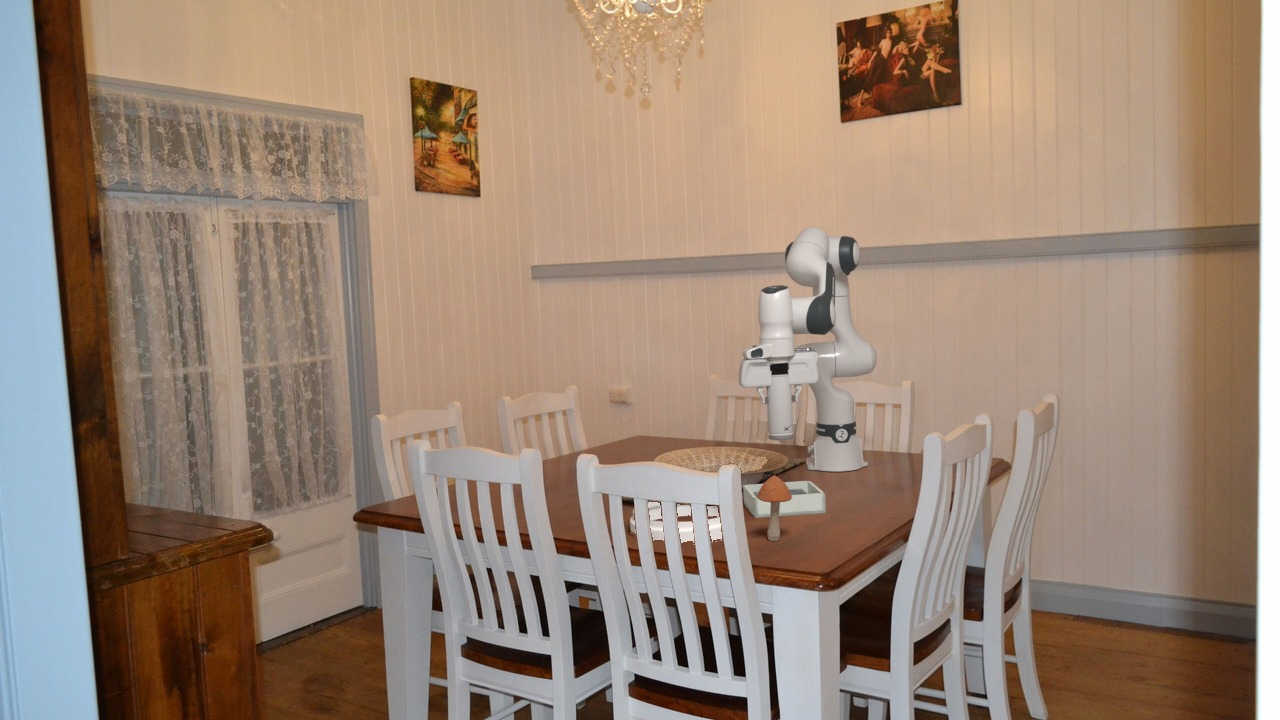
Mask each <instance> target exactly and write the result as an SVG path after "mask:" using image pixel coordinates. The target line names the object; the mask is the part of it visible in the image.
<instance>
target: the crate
mask: <svg viewBox="0 0 1280 720" xmlns="http://www.w3.org/2000/svg"><path fill="white" fill-rule="evenodd" d="M783 482H784V483H785V484H786V486H787V487H788V489H789V491H790V493H791V495H792V499H791V500H789V501H786V502H780V509H779V517H787V516H788V517H790V516H791V517H793V516H802V515H803V516H804V515H805V516H806V515H817V514H819V515H820V514H826V513H827V508H826V507H827V506H826V504H827V503H826V493H825V492H824V491H823V490H822V489H820V488H819V487H818V486H817V485H816V484H815V483H813V482H812V481H811V480H799V481H786V482H785V481H783ZM763 484H764V483H755V484H743V485H742V490H743V491H742V492H743V493H742V494H743V505H744V506H745V507H746V508H747V510H748V511H749V512H750V514H751V515H752V516H753V517H754V519H760V518H761V519H762V518H770V506H771V502H764V501H761V500H759V499H758V498H757V495H758V493H759V490H760V489H761V487H762V485H763Z"/></svg>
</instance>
